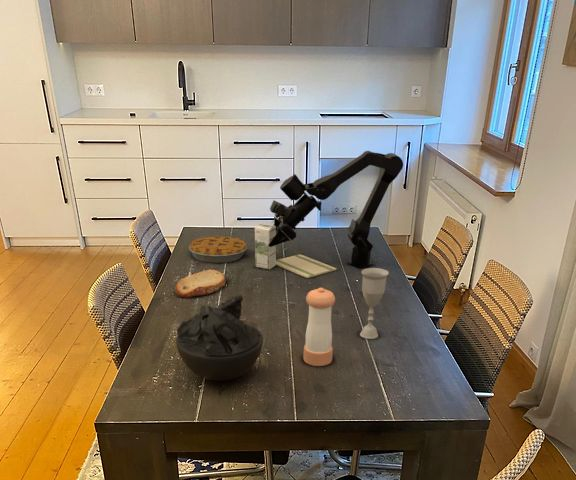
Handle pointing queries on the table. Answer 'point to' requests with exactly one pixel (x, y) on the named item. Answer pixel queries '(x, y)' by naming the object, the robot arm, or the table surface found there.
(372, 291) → the chalice
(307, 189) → the robot arm
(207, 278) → the bread slice
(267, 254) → the syrup box
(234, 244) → the pie
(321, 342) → the pepper shaker
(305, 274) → the towel
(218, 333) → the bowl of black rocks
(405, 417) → the table surface
